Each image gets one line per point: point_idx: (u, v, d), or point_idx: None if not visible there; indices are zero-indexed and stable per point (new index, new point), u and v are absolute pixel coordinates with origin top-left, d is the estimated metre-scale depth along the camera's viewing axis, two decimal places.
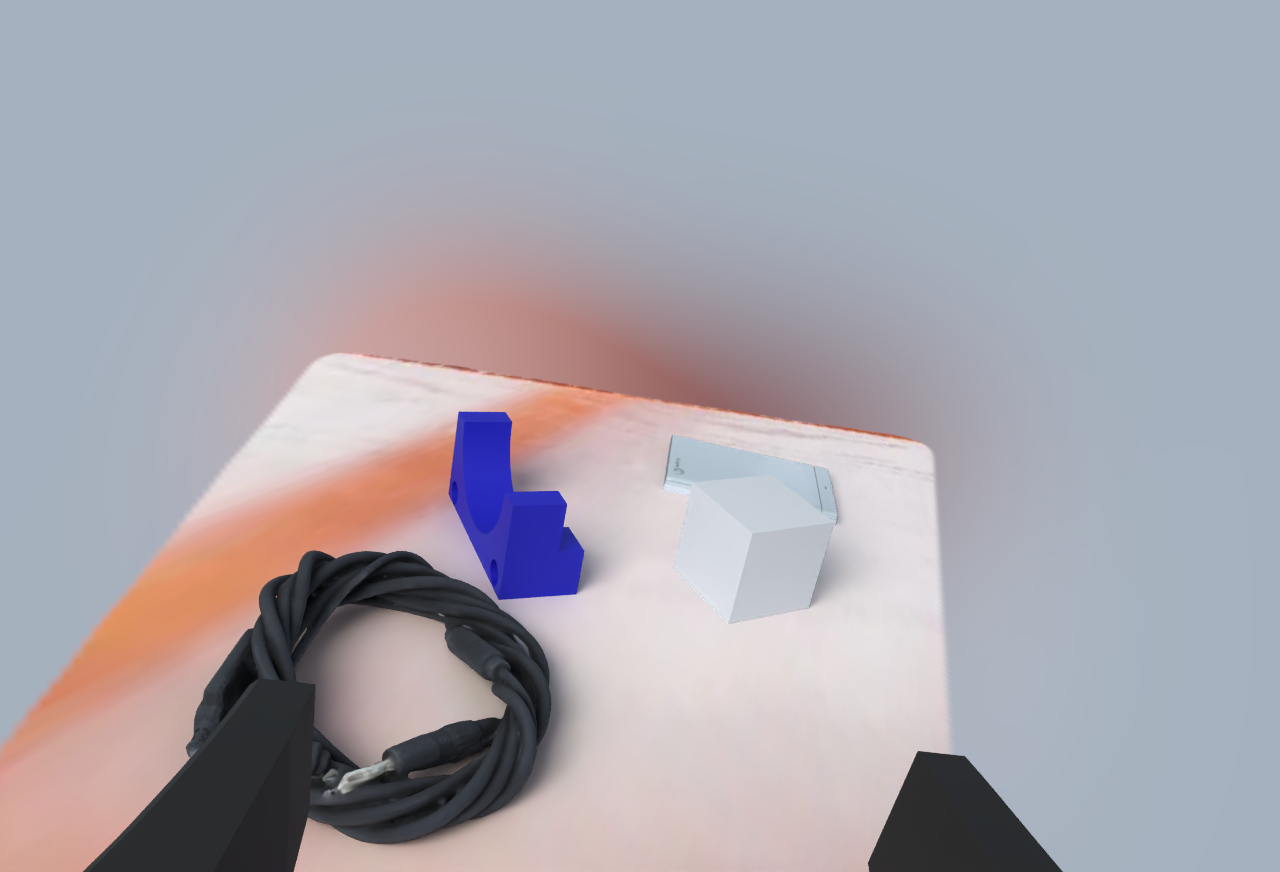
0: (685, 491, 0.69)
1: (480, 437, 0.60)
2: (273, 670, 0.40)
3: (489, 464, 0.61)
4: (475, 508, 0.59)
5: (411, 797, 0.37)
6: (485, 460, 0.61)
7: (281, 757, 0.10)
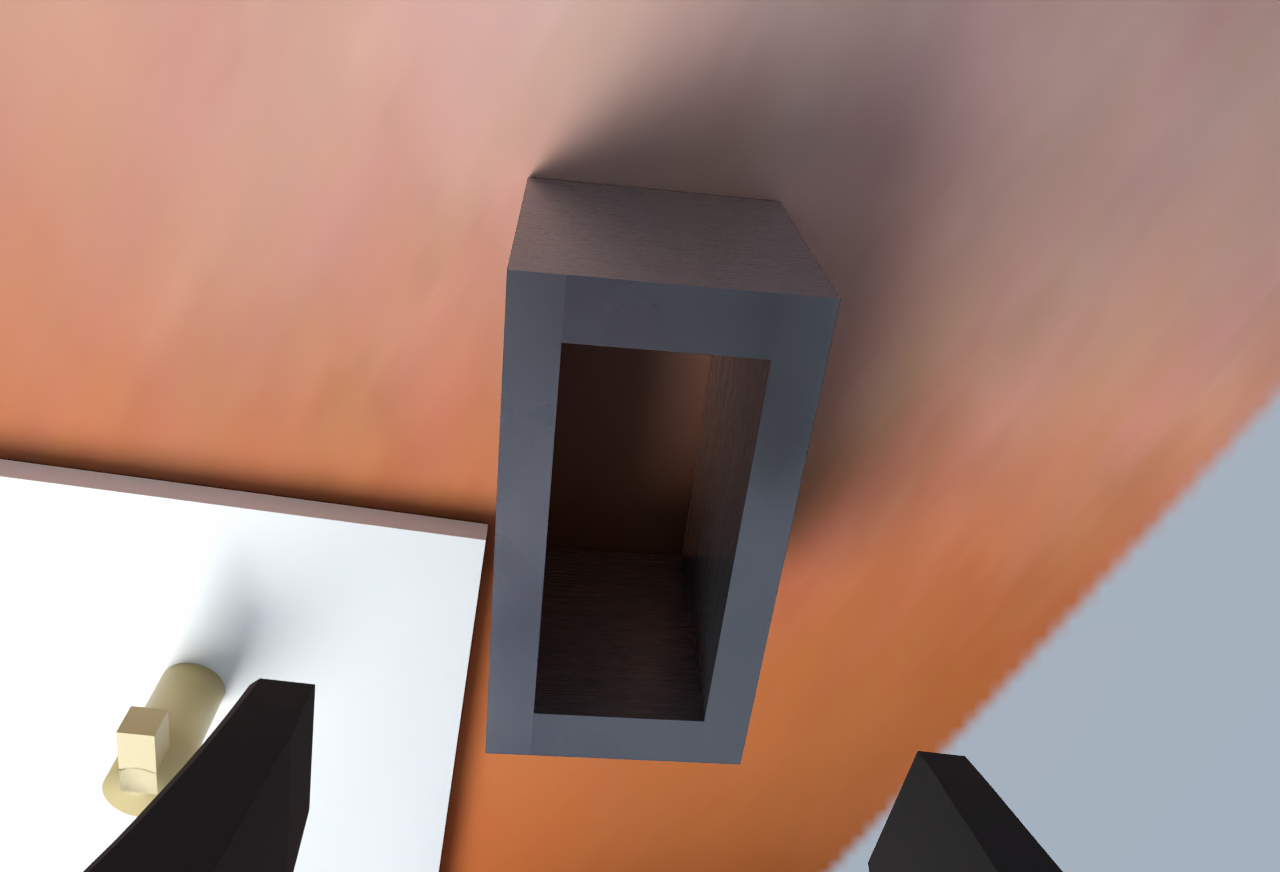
0: None
1: None
2: None
3: None
4: None
5: None
6: None
7: (281, 757, 0.10)
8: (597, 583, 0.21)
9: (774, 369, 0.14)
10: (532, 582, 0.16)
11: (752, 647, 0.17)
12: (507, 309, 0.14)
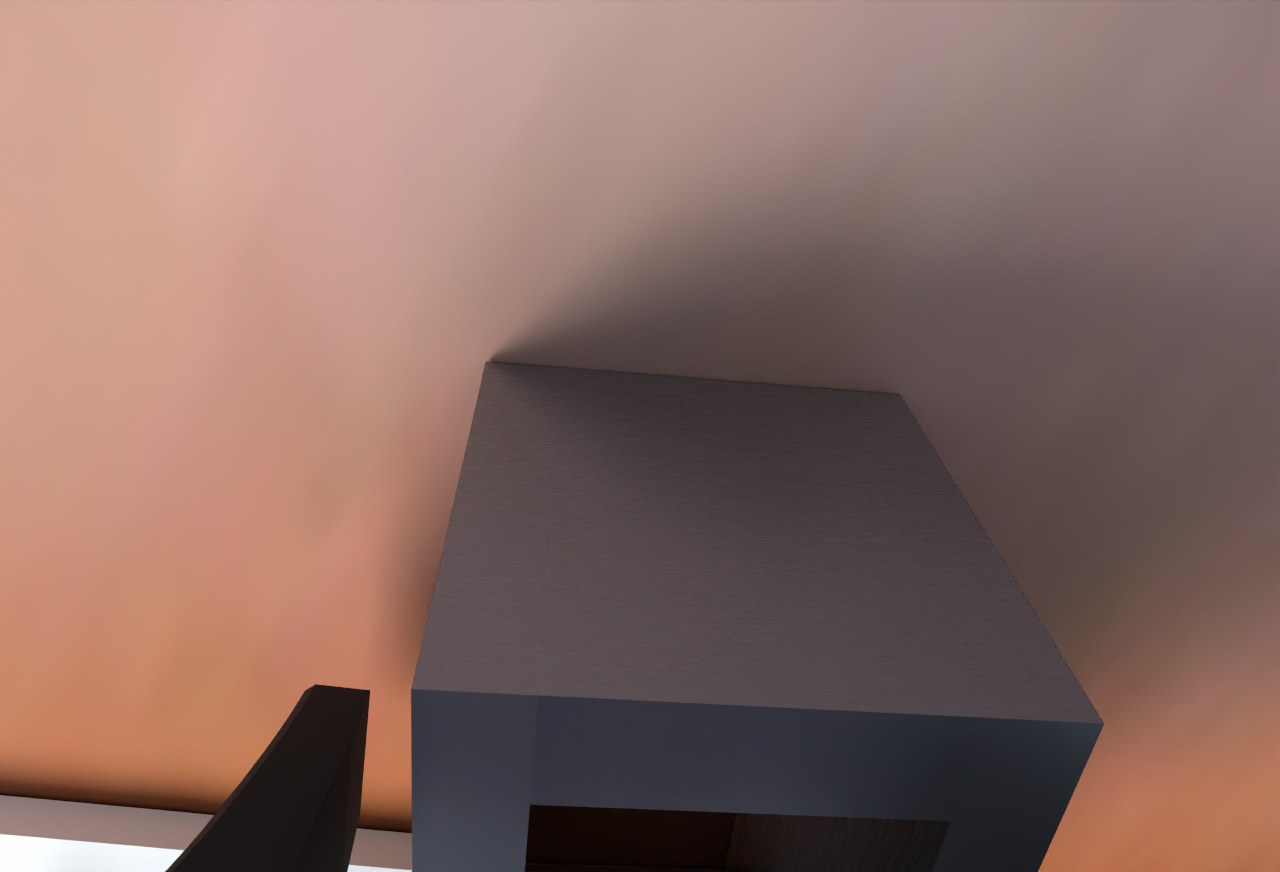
0: None
1: None
2: None
3: None
4: None
5: None
6: None
7: (343, 763, 0.10)
8: None
9: (954, 836, 0.07)
10: None
11: None
12: (416, 755, 0.06)
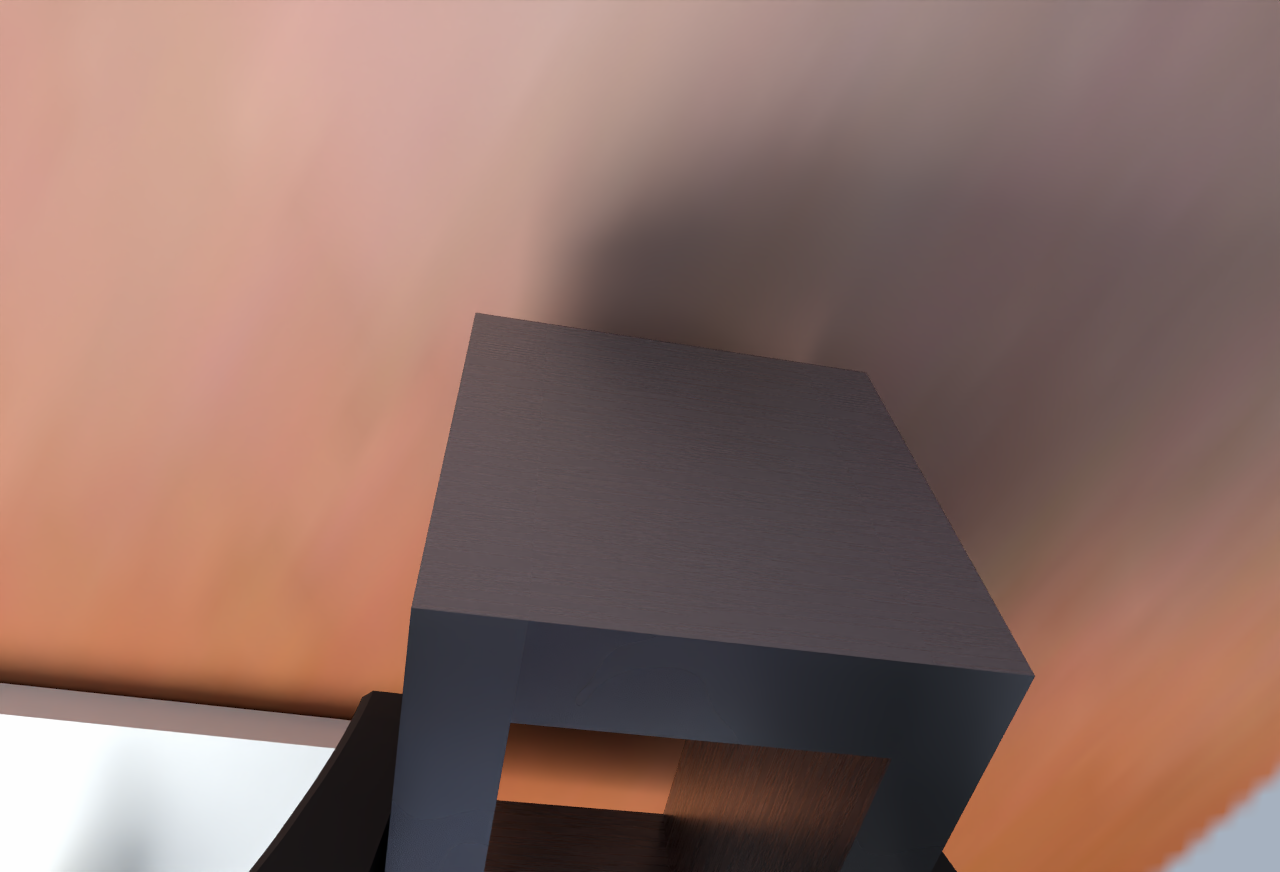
0: None
1: None
2: None
3: None
4: None
5: None
6: None
7: None
8: None
9: (892, 772, 0.08)
10: None
11: None
12: (409, 671, 0.07)
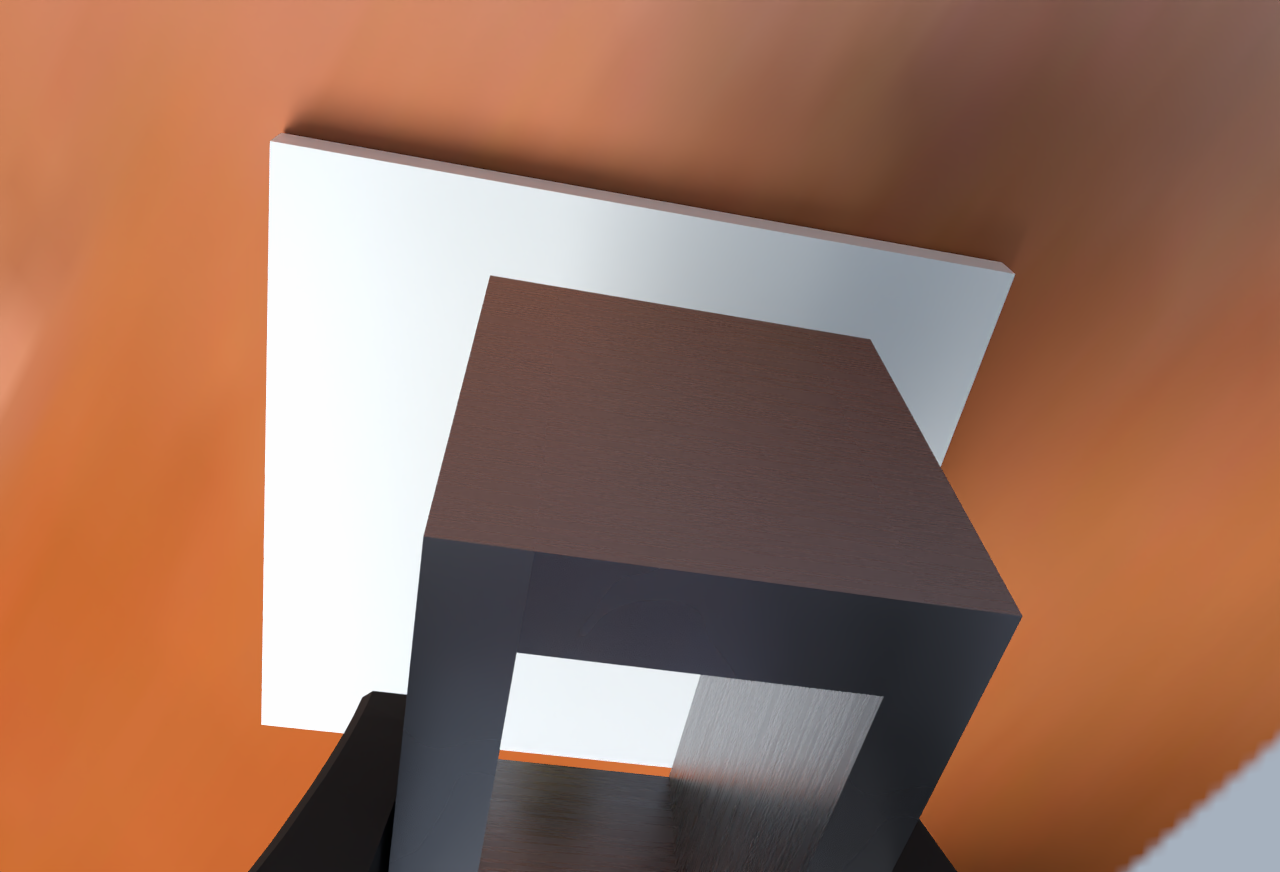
0: None
1: None
2: None
3: None
4: None
5: None
6: None
7: None
8: (550, 829, 0.15)
9: (885, 711, 0.08)
10: None
11: None
12: (421, 599, 0.07)
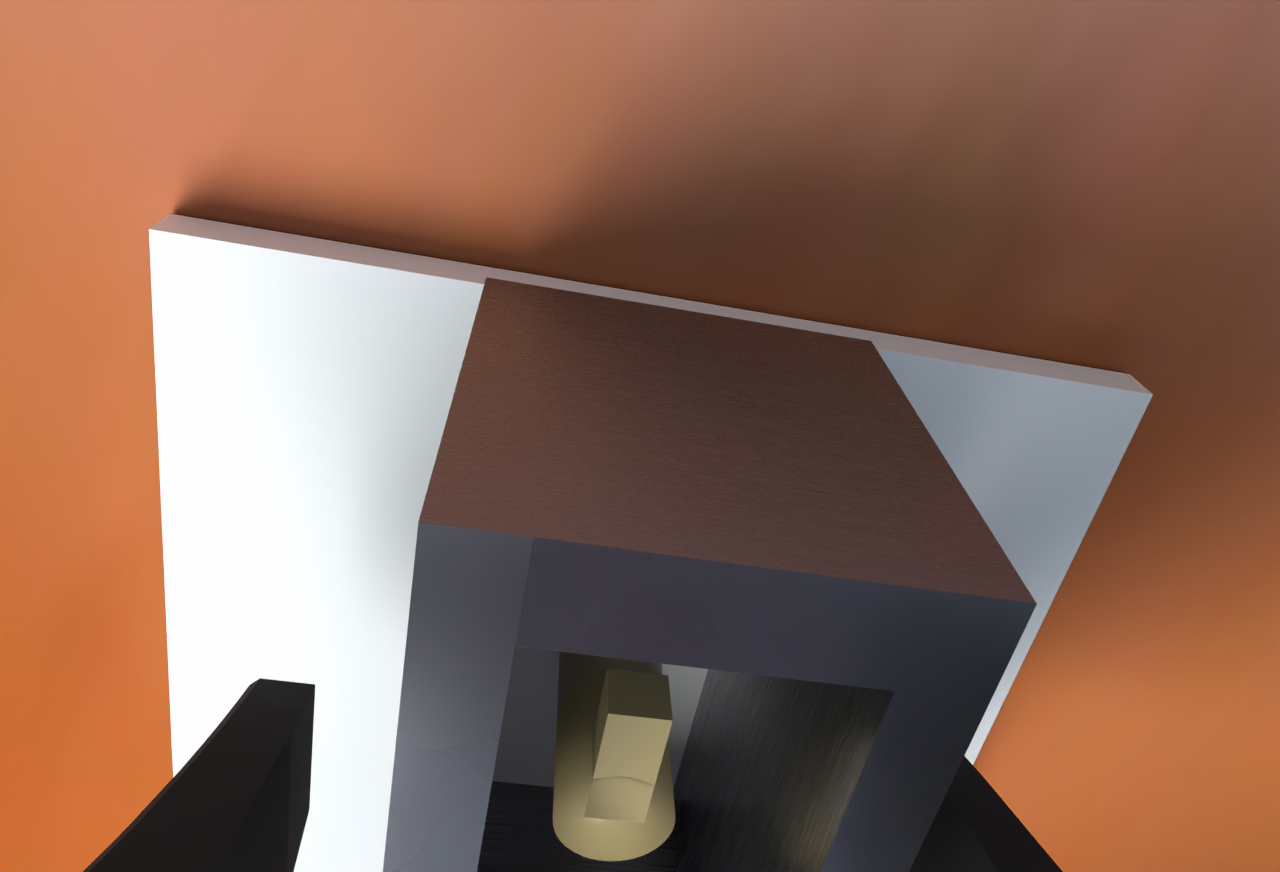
0: None
1: None
2: None
3: None
4: None
5: None
6: None
7: (281, 757, 0.10)
8: (548, 852, 0.14)
9: (896, 707, 0.08)
10: None
11: None
12: (415, 588, 0.07)
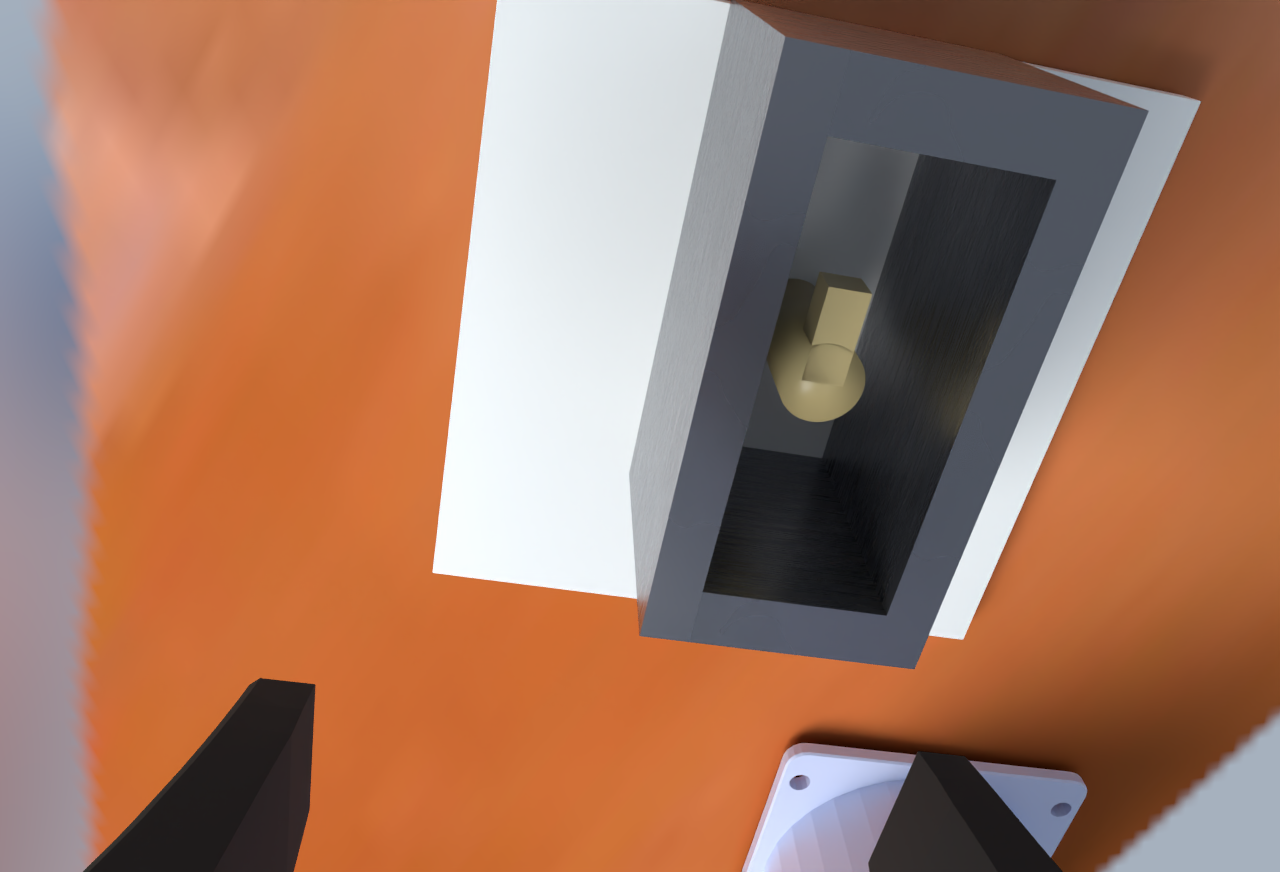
0: None
1: None
2: None
3: None
4: None
5: None
6: None
7: (281, 757, 0.10)
8: (740, 475, 0.19)
9: (1056, 193, 0.12)
10: (733, 432, 0.14)
11: (957, 531, 0.15)
12: (775, 87, 0.12)
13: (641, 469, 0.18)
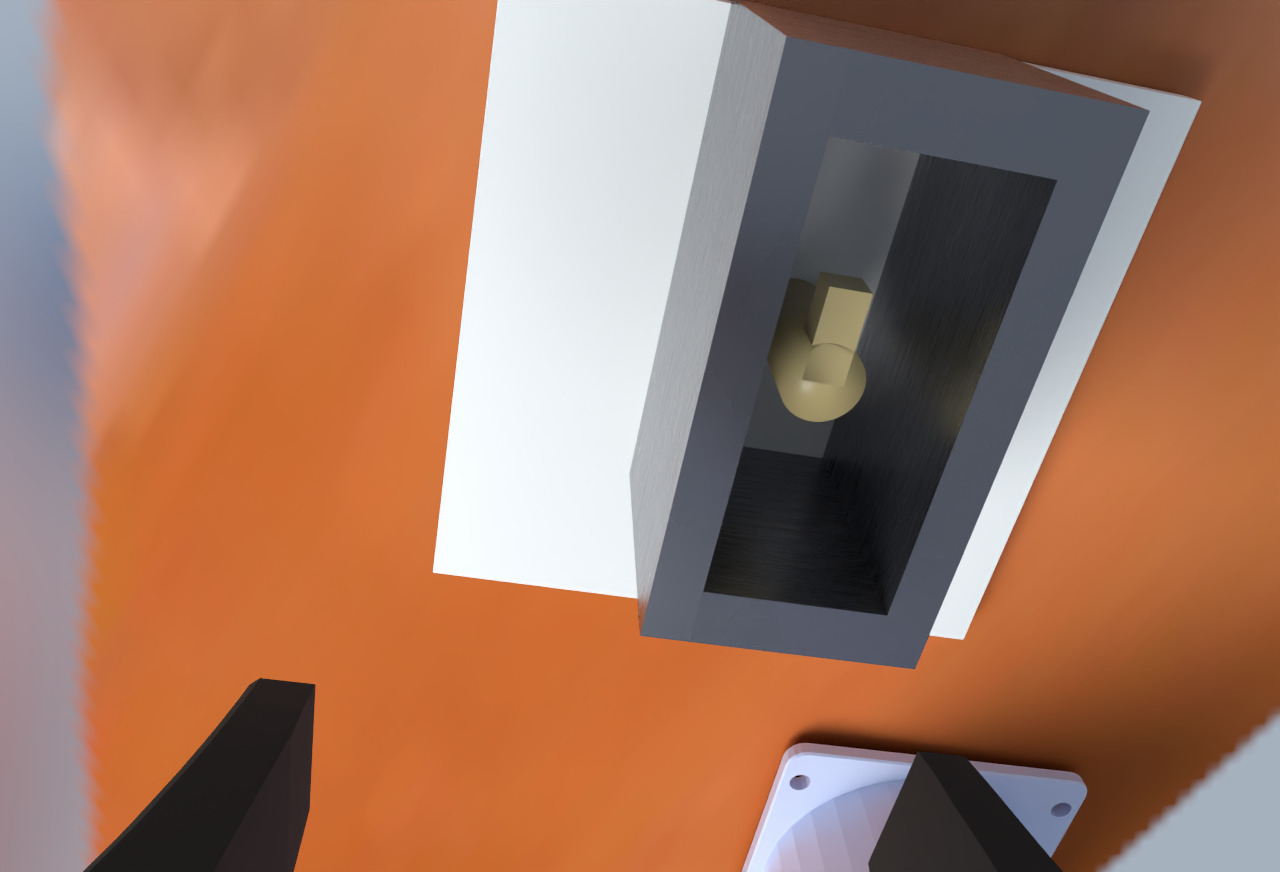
0: None
1: None
2: None
3: None
4: None
5: None
6: None
7: (281, 757, 0.10)
8: (741, 475, 0.19)
9: (1057, 193, 0.12)
10: (734, 431, 0.14)
11: (958, 531, 0.15)
12: (777, 87, 0.12)
13: (641, 469, 0.18)
